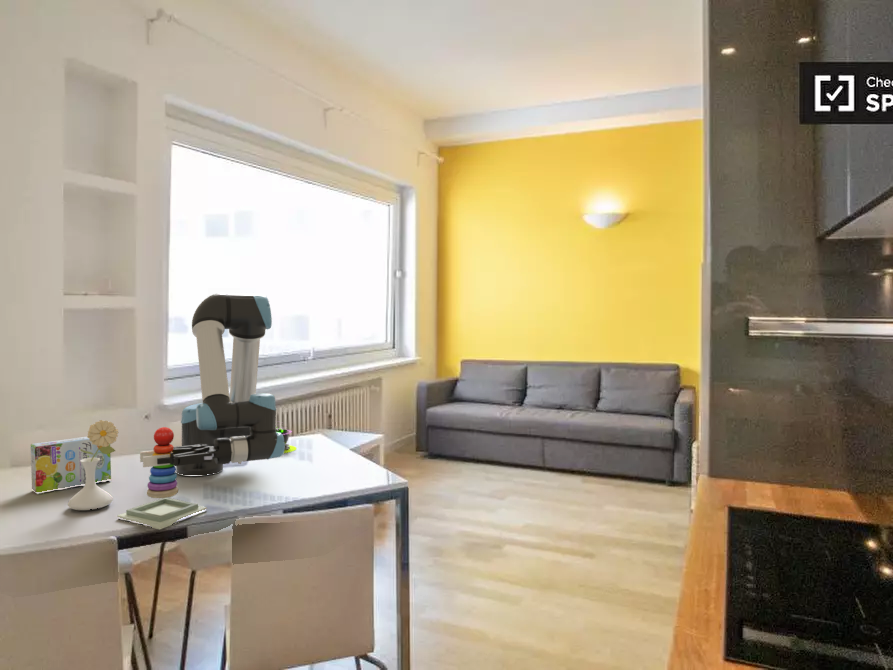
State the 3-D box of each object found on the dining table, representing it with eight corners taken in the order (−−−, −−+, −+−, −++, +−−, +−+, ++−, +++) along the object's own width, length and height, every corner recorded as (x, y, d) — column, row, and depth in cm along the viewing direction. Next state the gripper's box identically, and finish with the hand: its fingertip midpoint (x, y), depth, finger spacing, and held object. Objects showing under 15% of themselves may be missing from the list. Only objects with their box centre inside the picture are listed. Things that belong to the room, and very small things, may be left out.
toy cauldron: (259, 446, 264) (259, 419, 263) (296, 444, 267) (296, 418, 266) (256, 454, 249) (256, 426, 248) (296, 453, 252) (296, 425, 252)
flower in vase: (65, 516, 177) (63, 425, 176) (70, 503, 188) (68, 418, 186) (118, 510, 183) (117, 422, 181) (120, 498, 193) (119, 415, 192)
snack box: (105, 478, 214) (105, 433, 213) (111, 482, 210) (110, 436, 209) (31, 491, 199) (30, 442, 198) (35, 495, 195) (34, 446, 194)
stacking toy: (166, 500, 174) (166, 431, 173) (140, 498, 175) (139, 429, 174) (184, 491, 181) (183, 425, 180) (158, 489, 183) (158, 424, 182)
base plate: (117, 519, 175) (117, 510, 175) (166, 503, 190) (165, 495, 190) (159, 529, 168) (159, 520, 168) (206, 511, 183) (206, 503, 183)
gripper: (237, 470, 179) (146, 481, 167) (222, 456, 195) (137, 465, 183) (237, 443, 179) (146, 452, 167) (222, 431, 195) (137, 439, 183)
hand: (141, 459), depth 175 cm, fingers closed on stacking toy, 6 cm apart
